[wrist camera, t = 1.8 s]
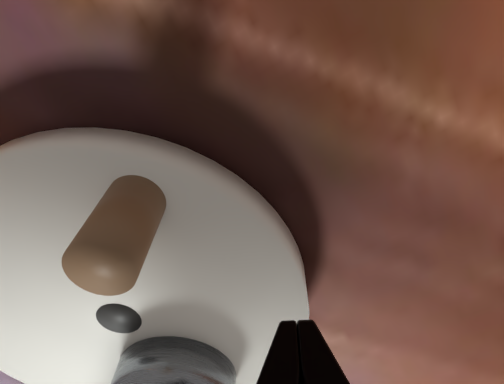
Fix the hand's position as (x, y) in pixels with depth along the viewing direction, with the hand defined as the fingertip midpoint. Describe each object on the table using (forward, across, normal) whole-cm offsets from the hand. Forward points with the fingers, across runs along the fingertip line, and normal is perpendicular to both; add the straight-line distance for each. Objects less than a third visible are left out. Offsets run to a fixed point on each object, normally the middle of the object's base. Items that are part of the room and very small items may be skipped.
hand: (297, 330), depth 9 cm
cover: (+6, +7, +12) cm, 16 cm away
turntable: (+9, +9, +7) cm, 15 cm away
